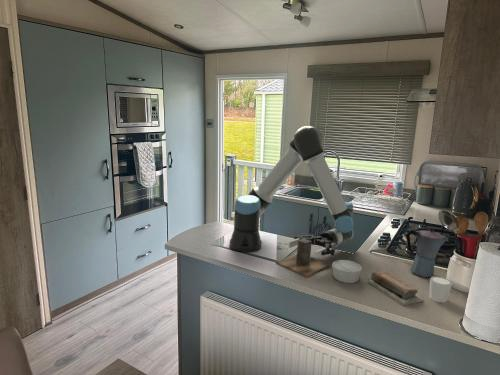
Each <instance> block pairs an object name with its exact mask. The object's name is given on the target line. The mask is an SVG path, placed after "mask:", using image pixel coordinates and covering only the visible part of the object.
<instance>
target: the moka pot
mask: <svg viewBox="0 0 500 375" xmlns="http://www.w3.org/2000/svg"><path fill="white" fill-rule="evenodd" d="M411 235H413V236H417V240H416V250H415V249H412V246H411V239H410V238H411V237H410V236H411ZM405 238H406V242H407V243H406V244H407V250H408V252H411V253H415V251H416V254H415V257H414V259H413V262H412V264H411V267H410V269H409V270H410V272H411V273H412V274H414V275H417V276H418V277H422V278H426V277H427V279H429V278H428V277H434V273H435V264H436V263H437V260H436V258H437V255H438V253H439V251H440V248H441V247H442V246H443V245H444V243H445V242H446V241H447V240H449V238H448V237H446V236H445V235H443V234H440V233H438V232H435V228H434V227H430V229H429V230H425V229H424V230H421V229H420V230H416V229H415V230H414V229H412V230H410V231H409V232H407V233H406V235H405Z"/></svg>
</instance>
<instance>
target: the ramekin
mask: <svg viewBox="0 0 500 375" xmlns="http://www.w3.org/2000/svg"><path fill="white" fill-rule="evenodd" d="M331 267H332V273H333V275H332V276H333V278H334V279H335V280H337V281H339V282H341V283H343V284H344V283H346V284H355V283H357V281H359V278H360V276H361V272H362V270H363V267H362V266H361V264H359V263H357V262H355V261H352V260H348V259H347V260H346V259H338V260H334V261H333V262H332V264H331Z"/></svg>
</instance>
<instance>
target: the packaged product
mask: <svg viewBox="0 0 500 375" xmlns="http://www.w3.org/2000/svg"><path fill="white" fill-rule="evenodd" d="M366 282H367V283H368V284H369V285H371V286H372V287H374V288H376V289H377V290H378V291H379V292H381V293H383V294H384V295H386V296H387V297H388V298H391V299H392V300H393V301H395V302H396V303H398V304H400V305H402V306H407V305H411V304H416V303H421V302H424V298H423V297H421V296H420V295H418V294H417V293H418V289H417V288H415V287H413V286H411V285H409V284H408V283H406V282H404V280H403V281H402V280H401V279H400V278H398V277H396V276H394V275H392V274H391V273H389V272H388V271H385V270H377V271H373V272H372V273H371V278H368V279H367V281H366Z"/></svg>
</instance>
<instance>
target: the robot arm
mask: <svg viewBox="0 0 500 375" xmlns="http://www.w3.org/2000/svg"><path fill="white" fill-rule="evenodd" d="M322 141H323V134H322V132H321V131H320V130H319V129H318V127H316V126H314V125H304V126H301V127H300V128H298V129H297V130H296V132H295V133H294V136H293V137H292V139H291V140H290V141H289V142H288V148H287V150H286V152H284V154H283V155H282V156H281V158H280V159H279V160H278V161H277V163H276V164H275V165H274V166H273V168H272V169H271V170H270V172H268V174H267V175H266V177H265V178H264V179H263V180H262V182H261V183H260V184H259V186H253V188H252V189H251V191H249V193H248V194H244V195H240V196H238V197H236V199H235V201H234V206H233V207H234V220H233V221H234V222H233V232H232V234H231V237H230V240H229V247H230V248H231V249H232V250H233V251H237V252H242V253H253V252H258V251H259V250H261V249H262V244H263V243H262V240H261V235H260V217H262V215H263V214H264V213H265V212H266V211H267V209H268V208H269V207H270V205H271V204H272V203H273V197H274V196H275V195H276V193H277V192H278V191H279V190H280V189H281V187H282V186H283V185H284V184H285V183H286V181H288V179H289V178H290V177H291V175H292V174H293V173H294V172H295V171H296V169H297V168H298V167H299V166H300V164H301V163H302V162H304V163H306V164H307V166H308V168H309V170H310V172H311V174H312V177H313V178H314V180H315V183H316V184H317V185H316V186H317V187H318V190H319V192H320V193H321V195H322V198H323V200H324V202H325V204H326V206H327V208H328V210H329V213H330V214H331V217H332V219H333V221H334V228H331V229H330V230H329V229H328V230H326V231H323V232H321V233H320V235H319V236H315V235H314V234H307V235H295V236H294V238H293V239H292V240H290V241H288V248H289V249H292V248H294V247H296V246H297V247H298V240H301V239H307V240H310V241H312V243H311V246H320V247H322V248H321V249H318V250H315V252H314V253H315V254H314V259H318V258H320V257H323V256H326V255H330V256H334V255H335V251H336V250H337V249H338V245H341V244H343V243H346V242H349V241H350V240H351V239H353V238H354V236H355V230H354V225H355V221H354V217H353V213H354V204H353V203H352V202H350V201H345V199H344V197H343V195H342V193H341V190H340V189H339V186H338V184H337V182H336V180H335V178H334V176H333V174H332V171H331V169H330V167H329V164H328V163H327V161H326V159H325V156H324V154H325V151H324V148H323V146H322Z"/></svg>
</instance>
